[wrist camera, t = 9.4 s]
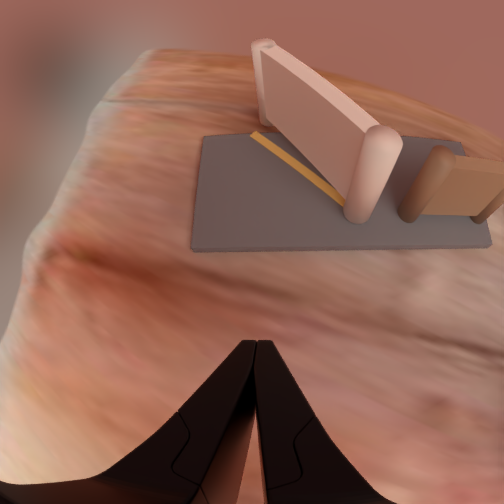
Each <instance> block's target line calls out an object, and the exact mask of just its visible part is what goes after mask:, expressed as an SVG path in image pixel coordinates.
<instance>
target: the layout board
mask: <svg viewBox="0 0 504 504" xmlns="http://www.w3.org/2000/svg"><path fill="white" fill-rule="evenodd" d="M400 137H401V139H402V142H403V147H402V149H401V152H400V154H399V156H398V158H397V161H396V163H395V165H394V167H393V169H392V172H391V174H390V176H389V178H388V180H387V182H386V185H385V187H384V189H383V191H382V193H381V195H380V197H379V199H378V201H377V203H376V205H375V207H374V209H373V211H372V214H371V216H370V218H369V219H368V220H367V221H366V222H365V223H363V224H354V223H351V222H350V221H348V220H347V219H346V217H345V216H344V213H343V207H344V203H345V199H344V198H343V197H342V196H341V194H340V193H339V192H338V191H337V190H336V189H335V188H334V187H333V186H332V185H331V183H330V182H329V181H328V180H327V179H326V178H325V177H324V176H323V175H322V174H321V173H320V172H319V171H318V170H317V168H316V167H315V166H314V165H313V164H312V163H311V162H310V161H309V160H308V159H307V158H306V157H305V156H304V155H303V154H302V153H301V152H300V151H299V150H298V149H297V148H296V147H295V146H294V145H293V144H292V143H291V142H290V141H289V140H288V139H287V138H286V137H285V136H284V135H283V134H282V133H281V132H275V133H258V132H257V131H255V132H253V133H248V134H229V135H215V136H204V139H203V146H202V154H201V161H200V169H199V177H198V186H197V194H196V203H195V212H194V222H193V232H192V242H191V249H192V250H193V252H250V251H319V250H388V249H459V248H488V247H490V246H491V245H492V240H491V236H490V232H489V228H488V224H487V220H486V219H487V218H488V217H489V216H490V215H491V214H492V213H493V212H494V211H495V210H496V209H497V208H499V207H500V206H501V205H502V204H503V203H504V162H502V161H496V160H489V159H482V158H475V157H467V156H466V155H465V152H464V150H463V147H462V145H461V142H454V141H446V140H438V139H429V138H419V137H409V136H400Z"/></svg>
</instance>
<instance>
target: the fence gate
mask: <svg viewBox="0 0 504 504" xmlns="http://www.w3.org/2000/svg"><path fill="white" fill-rule="evenodd" d="M251 49H252V57H253V66H254V74H255V83H256V92H257V101H258V110H259V119H260V123H261V124H262V125H264V126H275V127H276V128H277V129H278V130H279V131H280V132H281V133H282V134H283V135H284V136H285V137H286V138H287V139H288V140H289V141H290V142H291V143H292V144H293V145H294V146H295V147H296V148H297V149H298V150H299V151H300V152H301V153H302V154H303V155H304V156H305V157H306V158H307V159H308V160H309V161H310V162H311V163H312V164H313V165H314V166H315V167H316V168H317V170H318V171H319V172H320V173H321V174H322V175H323V176H324V177H325V178H326V179H327V180H328V181H329V182H330V183H331V185H332V186H333V187H334V188H335V189H336V190H337V191H338V192H339V193H340V194H341V196H342V197H343V198H344V199H345V203H344V207H343V213H344V216H345V217H346V219H347V220H348V221H350V222H351V223H354V224H363V223H365V222H366V221H367V220H368V219H369V218H370V216H371V214H372V211H373V209H374V207H375V205H376V203H377V201H378V199H379V197H380V195H381V193H382V191H383V189H384V187H385V185H386V182H387V180H388V178H389V176H390V174H391V172H392V169H393V167H394V165H395V163H396V161H397V158H398V156H399V154H400V152H401V149H402V147H403V142H402V139H401V137H400V135H399V134H398V133H397V132H396V131H395V130H393V129H392V128H390V127H387V126H384V125H380V124H379V123H378V122H377V121H376V120H375V119H374V118H373V117H371V116H370V115H369V114H368V113H367V112H366V111H364V110H363V109H362V108H361V107H360V106H358V105H357V104H356V103H355V102H354V101H352V100H351V99H350V98H349V97H348V96H346V95H345V94H344V93H343V92H341V91H340V90H339V89H337V88H336V87H335V86H334V85H332V84H331V83H330V82H328V81H327V80H326V79H324V78H323V77H322V76H320V75H319V74H318V73H316V72H315V71H314V70H312V69H311V68H309V67H308V66H306V65H305V64H304V63H302V62H301V61H299V60H298V59H297V58H295V57H294V56H292V55H291V54H289V53H288V52H286V51H285V50H283V49H282V48H280V47H279V46H277V45H276V44H275V42H274V41H273V40H271V39H267V38H261V39H257V40H254V41H253V42H252V43H251Z"/></svg>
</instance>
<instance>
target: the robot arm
mask: <svg viewBox="0 0 504 504" xmlns="http://www.w3.org/2000/svg"><path fill="white" fill-rule="evenodd" d="M255 413H256V420H257V431H258V442H259V453H260V464H261V475H262V486H263V497H264V504H397V503H394V502H392V501H390V500H388V499H386V498H384V497H383V496H382V495H380V494H379V493H378V492H377V491H375V490H374V489H373V488H372V487H371V485H370V484H369V483H368V482H367V481H366V480H365V479H364V478H363V477H362V475H361V474H360V473H359V472H358V471H357V470H356V469H355V468H354V466H353V465H352V464H351V463H350V462H349V461H348V459H347V458H346V457H345V456H344V455H343V454H342V452H341V451H340V450H339V449H338V447H337V446H336V445H335V444H334V442H333V441H332V440H331V438H330V437H329V435H328V434H327V432H326V431H325V429H324V428H323V426H322V424H321V423H320V421H319V419H318V418H317V417H316V415H315V413H314V411H313V410H312V408H311V406H310V405H309V403H308V401H307V400H306V398H305V396H304V394H303V393H302V391H301V389H300V388H299V386H298V384H297V383H296V381H295V379H294V377H293V376H292V374H291V372H290V371H289V369H288V367H287V365H286V364H285V362H284V360H283V359H282V357H281V355H280V353H279V352H278V350H277V348H276V346H275V345H274V343H273V341H271V340H258V341H256V340H242V341H241V342H240V343H239V344H238V345H237V346H236V348H235V349H234V350H233V351H232V352H231V353H230V354H229V355H228V357H227V358H226V359H225V360H224V361H223V362H222V363H221V364H220V365H219V366H218V368H217V369H216V370H215V371H214V372H213V373H212V374H211V375H210V376H209V377H208V378H207V380H206V381H205V382H204V383H203V384H202V385H201V386H200V387H199V388H198V389H197V390H196V391H195V392H194V394H193V395H192V396H191V397H190V398H189V399H188V400H187V401H186V402H185V403H184V404H183V405H182V406H181V407H180V408H179V409H178V412H175V413H174V415H173V416H172V417H171V418H170V419H169V420H168V421H167V422H166V423H165V424H164V425H163V426H162V427H160V428H159V429H158V430H157V431H156V432H155V433H154V434H153V435H152V436H150V437H149V438H148V439H147V440H146V441H144V442H143V443H142V444H141V445H139V446H138V447H137V448H135V449H134V450H133V451H132V452H130V453H129V454H128V455H126V456H125V457H124V458H122V459H121V460H120V461H118V462H117V463H116V464H114V465H113V466H112V467H110V468H109V469H107V470H106V471H104V472H102V473H100V474H98V475H96V476H94V477H90V478H87V479H80V480H73V481H64V482H54V483H42V484H26V485H19V484H10V483H6V482H2V481H0V504H236V502H237V498H238V493H239V489H240V484H241V480H242V475H243V471H244V466H245V462H246V457H247V452H248V448H249V443H250V438H251V433H252V429H253V424H254V419H255Z"/></svg>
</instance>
